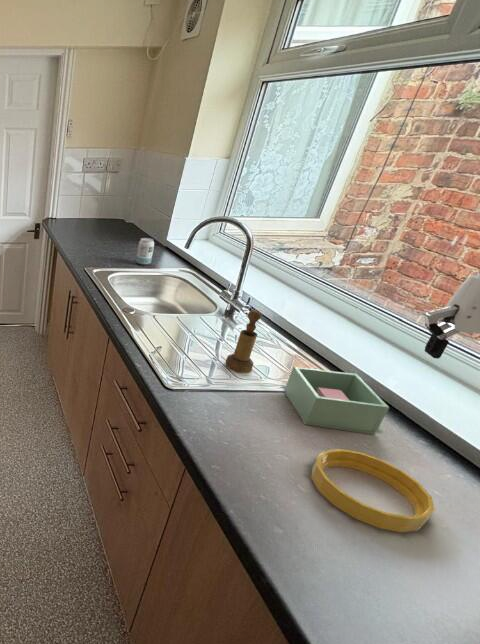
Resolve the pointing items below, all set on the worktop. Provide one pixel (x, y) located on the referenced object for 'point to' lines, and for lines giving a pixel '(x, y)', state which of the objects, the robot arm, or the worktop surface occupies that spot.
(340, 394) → the pink toy cube
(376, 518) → the yellow bangle
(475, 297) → the robot arm
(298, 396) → the bin
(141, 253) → the beverage can
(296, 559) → the worktop surface
